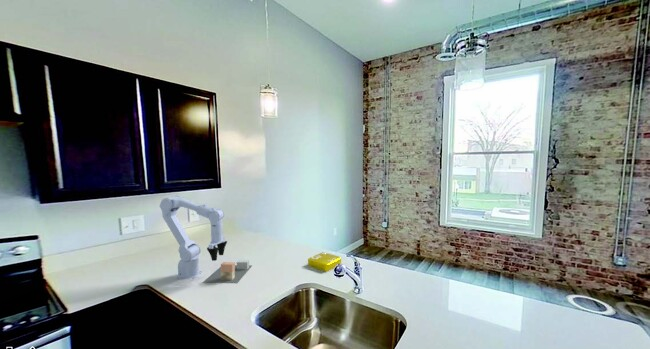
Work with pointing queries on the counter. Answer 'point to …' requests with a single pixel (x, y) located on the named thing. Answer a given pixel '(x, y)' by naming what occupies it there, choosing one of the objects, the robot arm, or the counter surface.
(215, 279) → the charcoal mat
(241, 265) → the grey brick
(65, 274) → the counter surface
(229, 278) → the maple brick
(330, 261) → the element tile
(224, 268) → the terracotta brick
